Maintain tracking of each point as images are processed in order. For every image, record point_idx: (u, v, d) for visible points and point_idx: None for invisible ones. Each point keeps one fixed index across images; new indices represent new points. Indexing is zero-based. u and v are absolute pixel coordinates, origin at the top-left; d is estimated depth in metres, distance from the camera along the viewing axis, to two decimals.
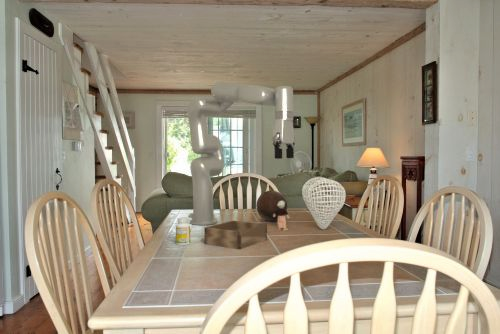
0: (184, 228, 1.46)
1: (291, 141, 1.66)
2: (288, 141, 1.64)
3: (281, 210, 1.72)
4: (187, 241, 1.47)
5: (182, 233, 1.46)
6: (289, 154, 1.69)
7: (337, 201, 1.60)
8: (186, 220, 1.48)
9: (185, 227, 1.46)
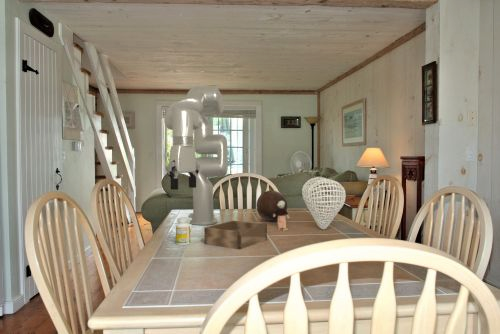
0: (184, 228, 1.46)
1: (192, 169, 1.49)
2: (187, 169, 1.47)
3: (281, 210, 1.72)
4: (187, 241, 1.47)
5: (182, 233, 1.46)
6: (191, 183, 1.52)
7: (337, 201, 1.60)
8: (186, 220, 1.48)
9: (185, 227, 1.46)
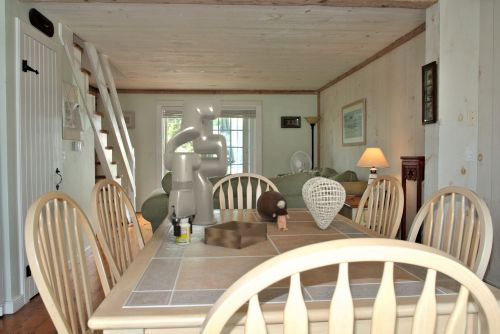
0: (184, 228, 1.46)
1: (191, 212, 1.49)
2: (186, 214, 1.47)
3: (281, 210, 1.72)
4: (187, 241, 1.47)
5: (182, 233, 1.46)
6: None
7: (337, 201, 1.60)
8: (186, 220, 1.48)
9: (185, 227, 1.46)
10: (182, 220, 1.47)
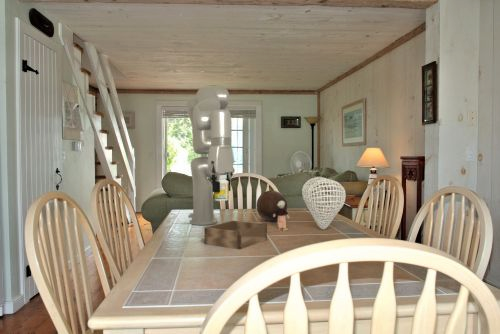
0: (223, 184, 1.47)
1: (229, 169, 1.50)
2: (225, 170, 1.48)
3: (281, 210, 1.72)
4: (225, 197, 1.48)
5: (221, 189, 1.47)
6: None
7: (337, 201, 1.60)
8: (225, 176, 1.49)
9: (223, 183, 1.48)
10: (221, 176, 1.48)
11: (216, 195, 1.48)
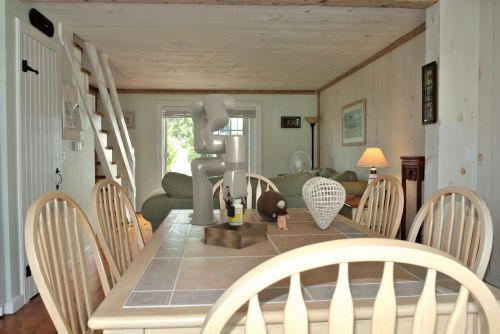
0: (238, 208, 1.48)
1: (243, 193, 1.52)
2: (239, 194, 1.49)
3: (281, 210, 1.72)
4: (240, 221, 1.49)
5: (236, 213, 1.48)
6: None
7: (337, 201, 1.60)
8: (239, 201, 1.50)
9: (238, 208, 1.49)
10: (236, 201, 1.49)
11: (231, 219, 1.49)
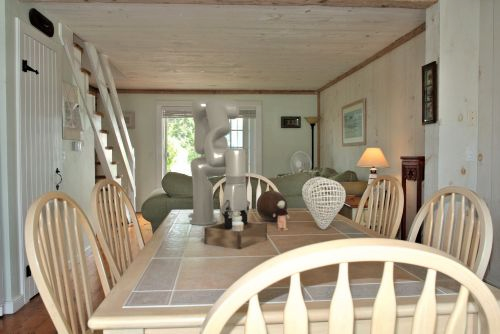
0: (238, 226, 1.49)
1: (244, 207, 1.52)
2: (240, 208, 1.50)
3: (281, 210, 1.72)
4: None
5: None
6: (243, 220, 1.55)
7: (337, 201, 1.60)
8: (240, 218, 1.50)
9: (239, 225, 1.49)
10: (236, 218, 1.50)
11: None
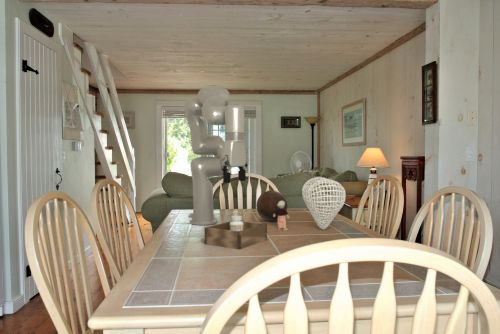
0: (238, 226, 1.49)
1: (242, 163, 1.56)
2: (238, 164, 1.54)
3: (281, 210, 1.72)
4: None
5: None
6: (241, 176, 1.60)
7: (337, 201, 1.60)
8: (240, 218, 1.50)
9: (239, 225, 1.49)
10: (236, 218, 1.50)
11: None
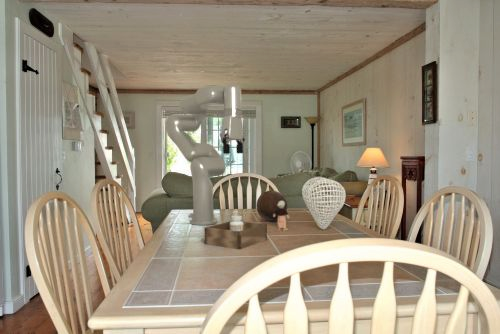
0: (238, 226, 1.49)
1: (240, 137, 1.75)
2: (236, 137, 1.73)
3: (281, 210, 1.72)
4: None
5: None
6: (239, 149, 1.78)
7: (337, 201, 1.60)
8: (240, 218, 1.50)
9: (239, 225, 1.49)
10: (236, 218, 1.50)
11: None
